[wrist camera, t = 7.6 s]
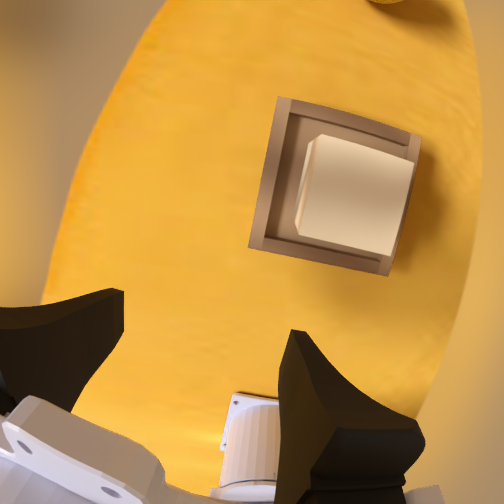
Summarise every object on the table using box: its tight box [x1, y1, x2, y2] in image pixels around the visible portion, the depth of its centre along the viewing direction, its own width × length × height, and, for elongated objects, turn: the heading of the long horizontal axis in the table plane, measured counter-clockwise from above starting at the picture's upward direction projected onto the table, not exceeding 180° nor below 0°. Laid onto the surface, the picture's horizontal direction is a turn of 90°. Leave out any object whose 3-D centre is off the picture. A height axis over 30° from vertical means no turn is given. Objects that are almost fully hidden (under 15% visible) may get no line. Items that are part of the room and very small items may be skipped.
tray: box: [248, 96, 422, 277], centre depth 18 cm, size 9×9×3 cm
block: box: [292, 134, 414, 256], centre depth 15 cm, size 4×4×5 cm
